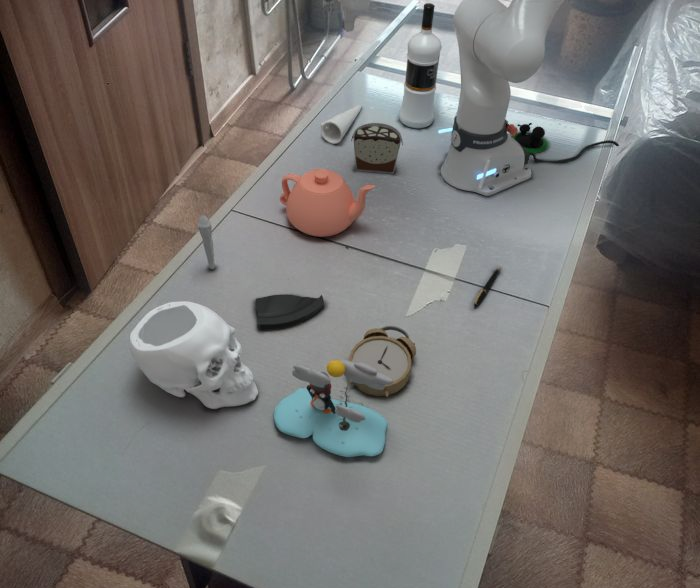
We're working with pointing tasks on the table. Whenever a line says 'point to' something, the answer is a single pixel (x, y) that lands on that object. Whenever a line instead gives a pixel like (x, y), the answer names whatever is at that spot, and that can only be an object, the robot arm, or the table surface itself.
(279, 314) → the dark sector wedge
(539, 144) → the toy figurine
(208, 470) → the table surface
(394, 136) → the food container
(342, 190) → the teapot
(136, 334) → the skull planter
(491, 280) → the fountain pen
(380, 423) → the penguin figurine
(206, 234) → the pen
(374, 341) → the alarm clock
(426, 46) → the vodka
